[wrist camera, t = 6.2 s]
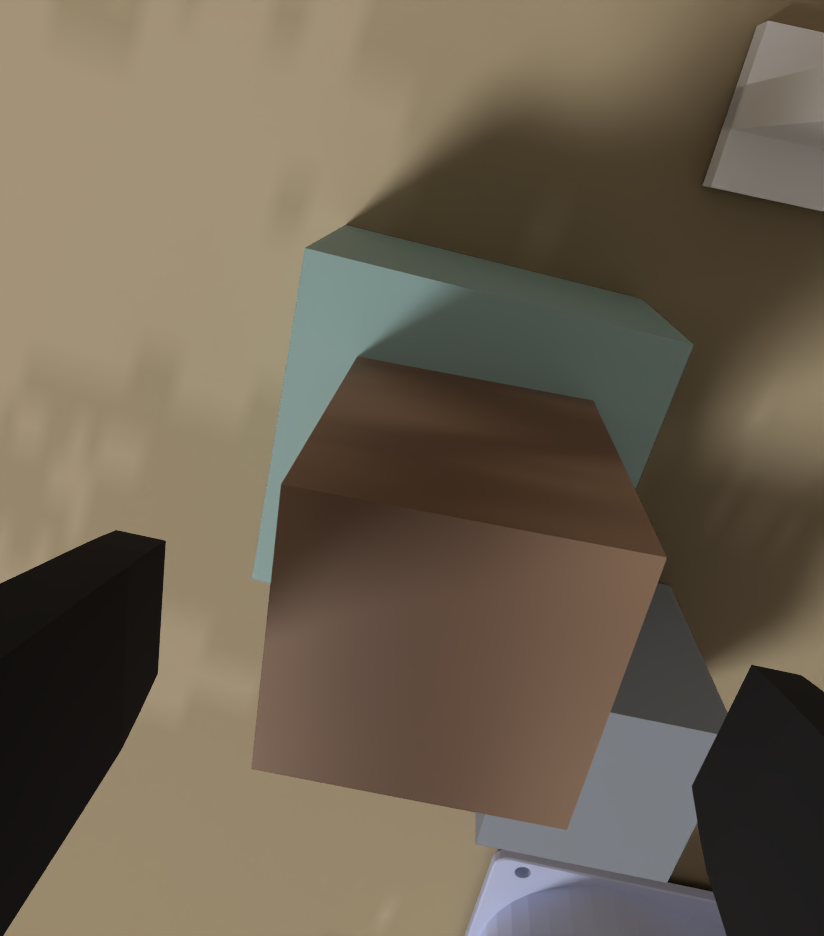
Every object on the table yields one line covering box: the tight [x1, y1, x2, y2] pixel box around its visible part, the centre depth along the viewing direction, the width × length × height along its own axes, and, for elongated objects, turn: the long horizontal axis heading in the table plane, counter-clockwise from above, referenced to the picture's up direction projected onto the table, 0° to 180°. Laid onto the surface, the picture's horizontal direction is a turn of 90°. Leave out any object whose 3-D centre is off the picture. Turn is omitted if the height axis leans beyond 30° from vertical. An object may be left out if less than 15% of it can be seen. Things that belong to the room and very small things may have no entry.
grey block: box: [476, 583, 728, 883], centre depth 18 cm, size 4×4×6 cm
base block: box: [252, 225, 694, 583], centre depth 16 cm, size 7×7×4 cm
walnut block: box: [252, 356, 667, 830], centre depth 11 cm, size 4×4×6 cm
